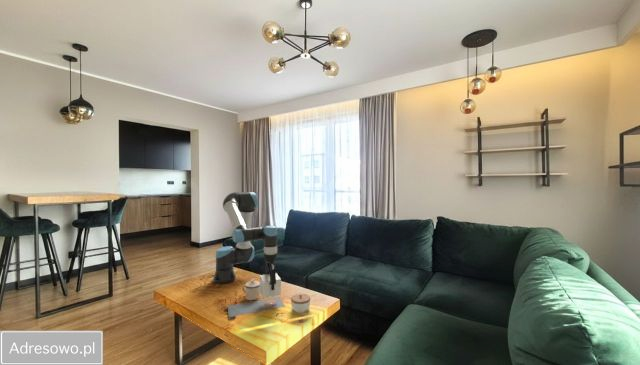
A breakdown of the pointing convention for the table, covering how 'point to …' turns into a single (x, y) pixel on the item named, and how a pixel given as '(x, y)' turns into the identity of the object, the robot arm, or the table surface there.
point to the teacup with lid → (252, 290)
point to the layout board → (254, 307)
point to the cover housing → (266, 287)
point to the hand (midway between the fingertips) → (270, 291)
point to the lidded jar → (300, 302)
